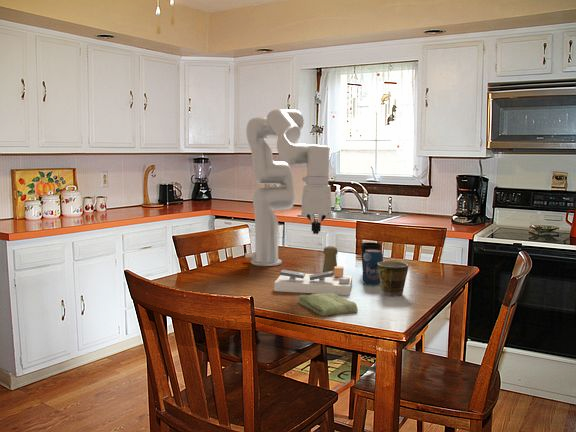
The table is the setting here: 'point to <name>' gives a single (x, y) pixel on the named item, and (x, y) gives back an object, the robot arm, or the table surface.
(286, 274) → the rocker left
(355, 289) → the table surface
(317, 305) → the washcloth
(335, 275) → the fader knob
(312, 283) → the panel
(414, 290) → the table surface
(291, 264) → the table surface
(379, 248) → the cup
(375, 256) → the soda can
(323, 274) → the rocker right
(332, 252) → the brown upright piece
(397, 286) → the ceramic cup
